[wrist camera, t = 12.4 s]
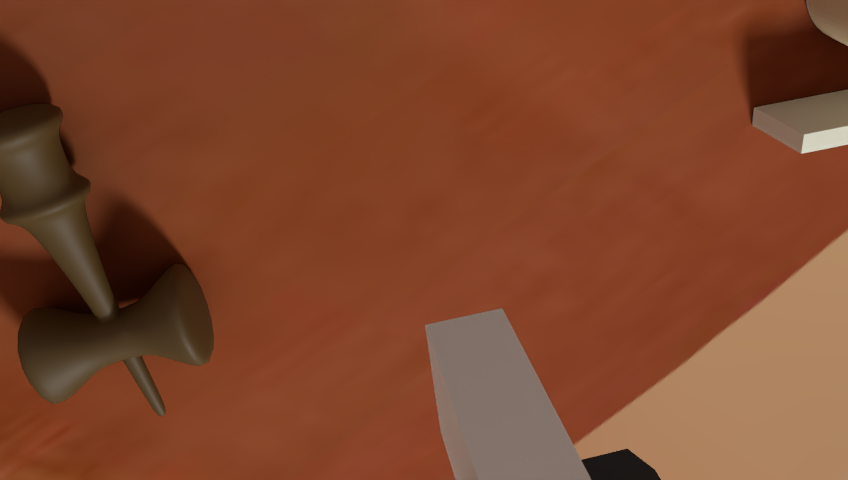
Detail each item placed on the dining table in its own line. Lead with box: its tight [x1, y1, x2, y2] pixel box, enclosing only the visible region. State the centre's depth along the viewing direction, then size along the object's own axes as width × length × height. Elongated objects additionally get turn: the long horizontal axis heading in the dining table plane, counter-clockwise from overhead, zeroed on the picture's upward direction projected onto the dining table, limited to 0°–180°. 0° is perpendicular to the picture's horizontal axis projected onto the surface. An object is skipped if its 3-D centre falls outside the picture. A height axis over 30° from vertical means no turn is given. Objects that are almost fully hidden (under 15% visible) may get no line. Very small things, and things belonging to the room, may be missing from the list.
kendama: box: [0, 104, 214, 416], centre depth 41 cm, size 6×10×20 cm
